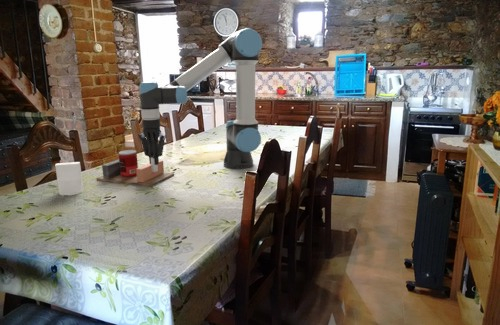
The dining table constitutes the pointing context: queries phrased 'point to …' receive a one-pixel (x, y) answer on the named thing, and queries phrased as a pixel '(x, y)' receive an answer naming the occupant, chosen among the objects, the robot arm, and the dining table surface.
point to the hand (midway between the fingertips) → (154, 171)
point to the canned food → (128, 163)
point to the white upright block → (69, 178)
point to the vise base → (113, 175)
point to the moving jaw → (148, 172)
